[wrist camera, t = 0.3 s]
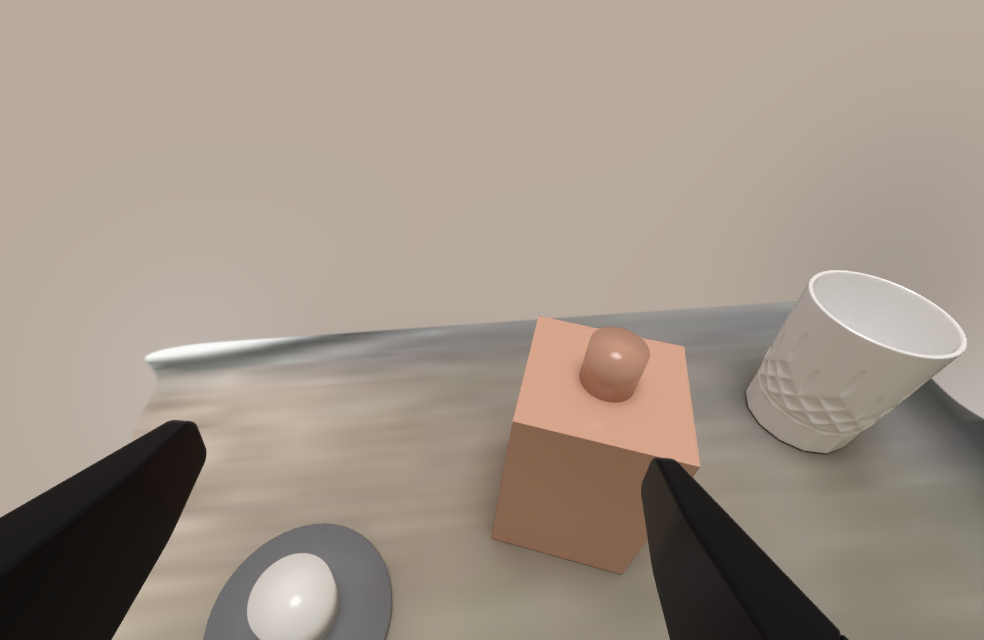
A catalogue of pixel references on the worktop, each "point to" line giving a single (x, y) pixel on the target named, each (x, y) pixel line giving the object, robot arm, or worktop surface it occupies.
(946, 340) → the white cup
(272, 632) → the white smooth rounded piece
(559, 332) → the pink square bottle
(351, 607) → the grey curved piece
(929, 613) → the worktop surface
